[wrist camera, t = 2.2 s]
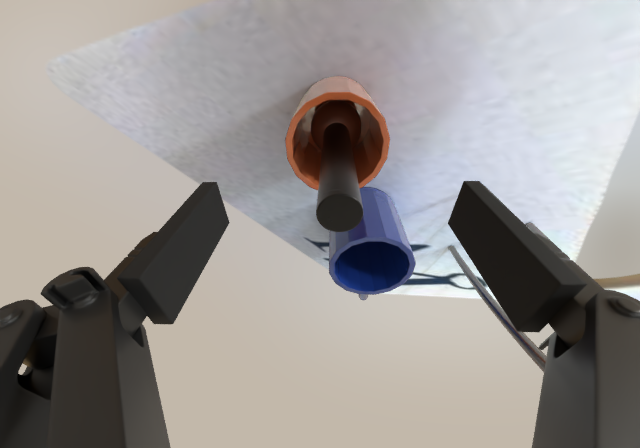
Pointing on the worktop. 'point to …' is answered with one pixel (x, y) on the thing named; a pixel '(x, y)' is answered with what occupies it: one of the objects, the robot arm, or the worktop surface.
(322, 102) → the crock
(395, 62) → the worktop surface
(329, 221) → the long black cylinder
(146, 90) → the worktop surface
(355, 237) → the mug
